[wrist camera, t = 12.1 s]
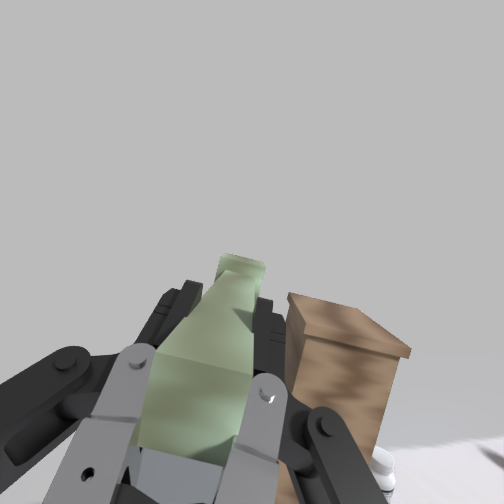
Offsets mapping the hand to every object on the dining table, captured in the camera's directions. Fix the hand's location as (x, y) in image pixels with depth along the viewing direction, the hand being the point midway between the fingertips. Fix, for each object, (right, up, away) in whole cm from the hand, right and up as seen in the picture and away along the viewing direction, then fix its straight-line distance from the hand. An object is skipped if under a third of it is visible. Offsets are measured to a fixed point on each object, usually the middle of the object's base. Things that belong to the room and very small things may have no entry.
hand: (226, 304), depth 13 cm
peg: (-1, -2, +6) cm, 6 cm away
